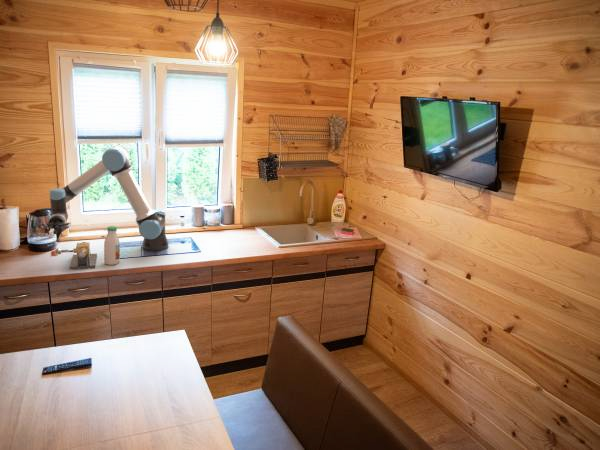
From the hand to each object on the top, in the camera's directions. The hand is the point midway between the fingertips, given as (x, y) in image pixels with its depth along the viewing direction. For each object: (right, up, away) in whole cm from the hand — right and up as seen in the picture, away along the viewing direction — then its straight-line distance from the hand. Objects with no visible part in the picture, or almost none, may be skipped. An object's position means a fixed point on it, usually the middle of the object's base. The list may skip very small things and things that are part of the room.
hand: (50, 234), depth 225 cm
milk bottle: (+19, -16, +26) cm, 36 cm away
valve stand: (+5, -15, +24) cm, 29 cm away
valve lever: (-4, -9, +20) cm, 22 cm away
